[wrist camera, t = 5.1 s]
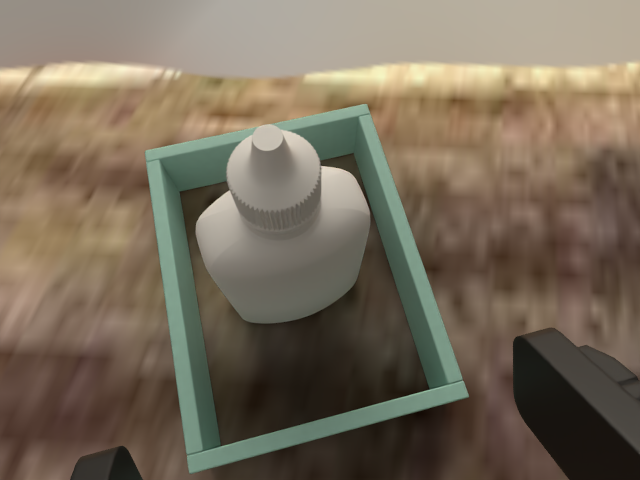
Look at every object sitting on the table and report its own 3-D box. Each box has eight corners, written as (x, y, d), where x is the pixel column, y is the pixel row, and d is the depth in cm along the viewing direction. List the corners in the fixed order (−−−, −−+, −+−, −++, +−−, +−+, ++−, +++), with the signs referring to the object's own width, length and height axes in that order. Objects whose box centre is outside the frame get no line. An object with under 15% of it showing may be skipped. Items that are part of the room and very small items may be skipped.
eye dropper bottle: (245, 231, 23) (172, 46, 11) (361, 248, 22) (401, 75, 11) (224, 320, 21) (116, 207, 10) (348, 339, 21) (381, 245, 10)
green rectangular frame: (447, 400, 20) (469, 397, 17) (209, 466, 19) (188, 474, 16) (361, 141, 24) (367, 102, 21) (166, 184, 24) (143, 150, 21)
